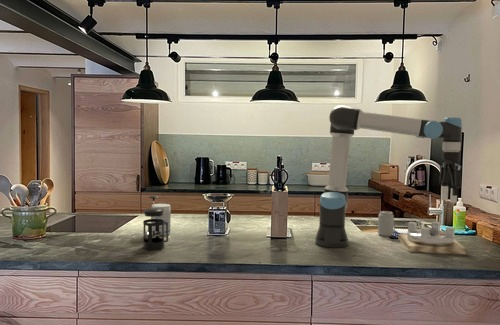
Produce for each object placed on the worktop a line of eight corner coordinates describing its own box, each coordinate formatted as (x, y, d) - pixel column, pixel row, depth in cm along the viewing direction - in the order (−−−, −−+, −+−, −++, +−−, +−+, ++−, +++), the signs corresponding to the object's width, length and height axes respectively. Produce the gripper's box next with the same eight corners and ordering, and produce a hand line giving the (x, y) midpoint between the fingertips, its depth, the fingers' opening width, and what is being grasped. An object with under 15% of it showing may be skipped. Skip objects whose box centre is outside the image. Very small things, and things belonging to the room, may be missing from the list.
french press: (138, 249, 186) (137, 197, 184) (146, 244, 196) (146, 194, 194) (163, 251, 185) (163, 198, 183) (171, 245, 194) (171, 195, 192)
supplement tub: (152, 237, 208) (152, 207, 207) (149, 232, 217) (149, 204, 216) (172, 235, 212) (172, 206, 211) (168, 231, 221) (168, 203, 220)
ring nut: (412, 244, 189) (413, 229, 189) (403, 234, 209) (403, 219, 209) (460, 247, 187) (461, 231, 186) (446, 235, 206) (447, 221, 206)
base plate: (408, 251, 189) (408, 245, 189) (398, 238, 211) (398, 233, 210) (465, 254, 186) (466, 248, 185) (449, 241, 207) (450, 235, 207)
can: (394, 237, 214) (394, 213, 213) (378, 236, 215) (379, 212, 214) (392, 233, 221) (393, 210, 220) (377, 232, 223) (377, 210, 222)
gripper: (472, 152, 187) (469, 204, 188) (446, 150, 206) (444, 197, 208) (456, 152, 186) (453, 204, 188) (432, 150, 205) (430, 197, 207)
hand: (448, 201), depth 198 cm, fingers open, 6 cm apart
